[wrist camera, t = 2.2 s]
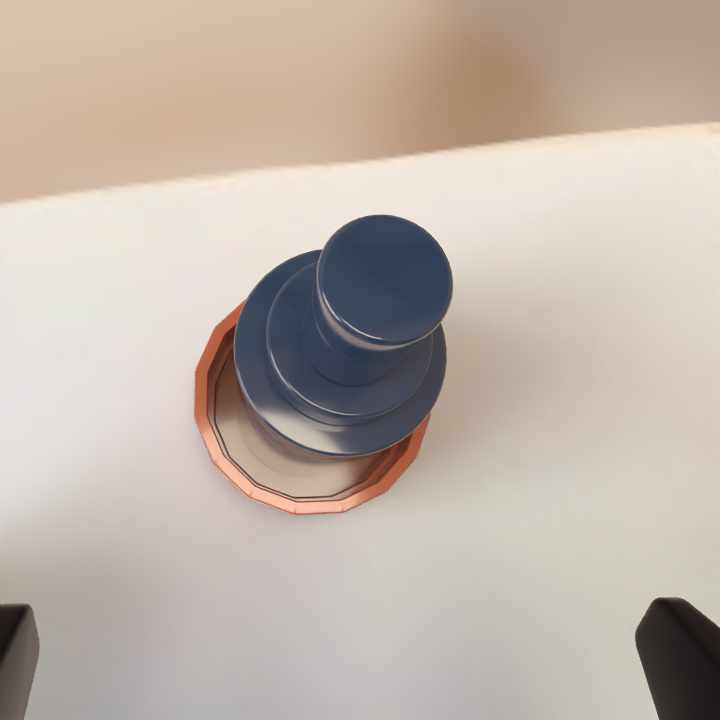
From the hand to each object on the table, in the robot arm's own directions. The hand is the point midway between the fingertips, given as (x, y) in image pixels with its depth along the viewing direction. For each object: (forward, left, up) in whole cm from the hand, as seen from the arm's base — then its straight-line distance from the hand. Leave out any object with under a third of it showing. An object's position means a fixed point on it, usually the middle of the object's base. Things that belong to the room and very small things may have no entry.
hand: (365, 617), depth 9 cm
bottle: (+4, +2, -11) cm, 12 cm away
